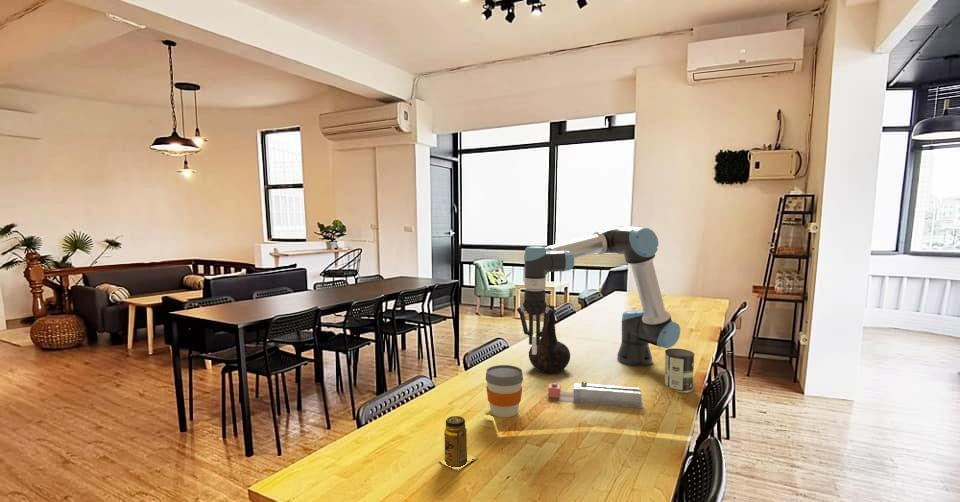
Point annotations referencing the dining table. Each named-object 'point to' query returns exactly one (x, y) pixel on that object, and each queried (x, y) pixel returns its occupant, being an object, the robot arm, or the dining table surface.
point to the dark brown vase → (550, 349)
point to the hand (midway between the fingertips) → (534, 353)
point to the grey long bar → (606, 396)
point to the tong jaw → (611, 387)
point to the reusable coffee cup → (504, 389)
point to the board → (569, 398)
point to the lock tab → (554, 390)
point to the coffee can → (679, 369)
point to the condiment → (456, 442)
